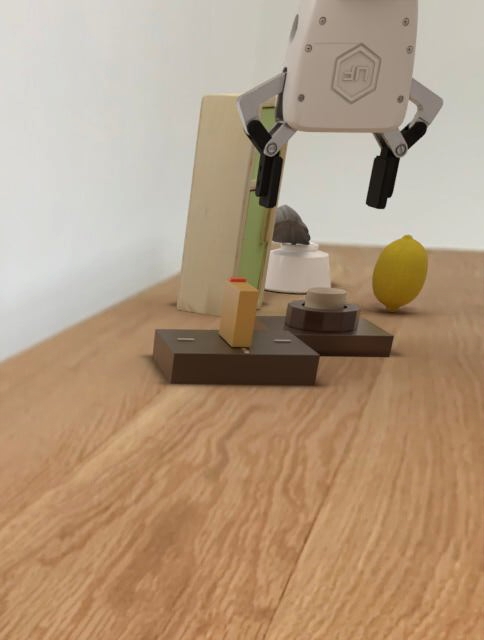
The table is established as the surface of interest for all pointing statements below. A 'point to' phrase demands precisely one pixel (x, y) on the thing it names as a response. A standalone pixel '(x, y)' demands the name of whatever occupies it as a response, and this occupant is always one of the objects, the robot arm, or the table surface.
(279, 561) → the table surface
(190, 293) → the toy refrigerator
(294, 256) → the inkwell
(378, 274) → the lemon
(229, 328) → the lock knob
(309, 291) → the bell button
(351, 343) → the block
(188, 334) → the plate
